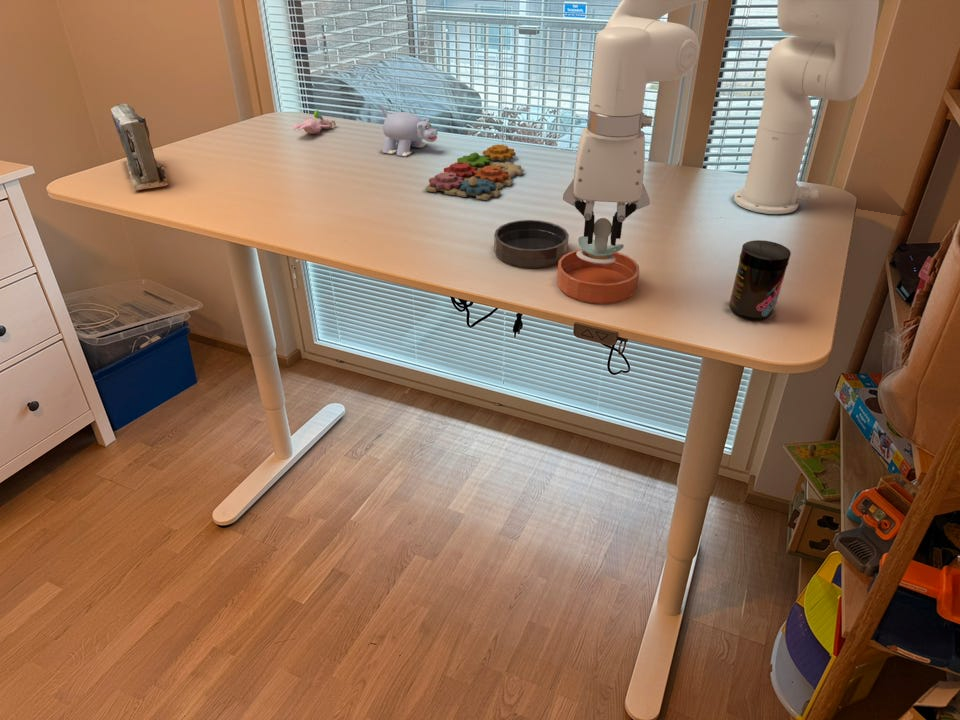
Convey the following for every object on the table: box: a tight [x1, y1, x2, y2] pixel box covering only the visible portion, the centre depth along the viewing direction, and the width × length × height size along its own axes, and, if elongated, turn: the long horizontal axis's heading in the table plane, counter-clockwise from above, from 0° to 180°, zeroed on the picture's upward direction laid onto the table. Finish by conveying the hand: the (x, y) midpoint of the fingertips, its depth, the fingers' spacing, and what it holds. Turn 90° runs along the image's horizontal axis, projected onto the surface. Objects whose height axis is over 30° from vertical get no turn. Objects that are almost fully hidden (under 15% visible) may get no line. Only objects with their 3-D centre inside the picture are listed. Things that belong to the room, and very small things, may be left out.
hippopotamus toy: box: [379, 107, 439, 157], centre depth 170 cm, size 11×15×10 cm
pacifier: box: [577, 217, 625, 264], centre depth 109 cm, size 7×6×6 cm
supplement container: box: [728, 239, 792, 322], centre depth 104 cm, size 7×7×10 cm
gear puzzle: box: [425, 144, 524, 201], centre depth 156 cm, size 31×16×4 cm, turn 157°
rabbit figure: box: [292, 109, 337, 135], centre depth 182 cm, size 6×6×15 cm
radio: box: [110, 103, 169, 191], centre depth 153 cm, size 23×9×15 cm, turn 23°
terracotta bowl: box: [556, 248, 641, 305], centre depth 113 cm, size 13×13×4 cm
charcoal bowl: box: [493, 219, 570, 269], centre depth 123 cm, size 13×13×4 cm
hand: (601, 240), depth 109 cm, fingers closed on pacifier, 3 cm apart
